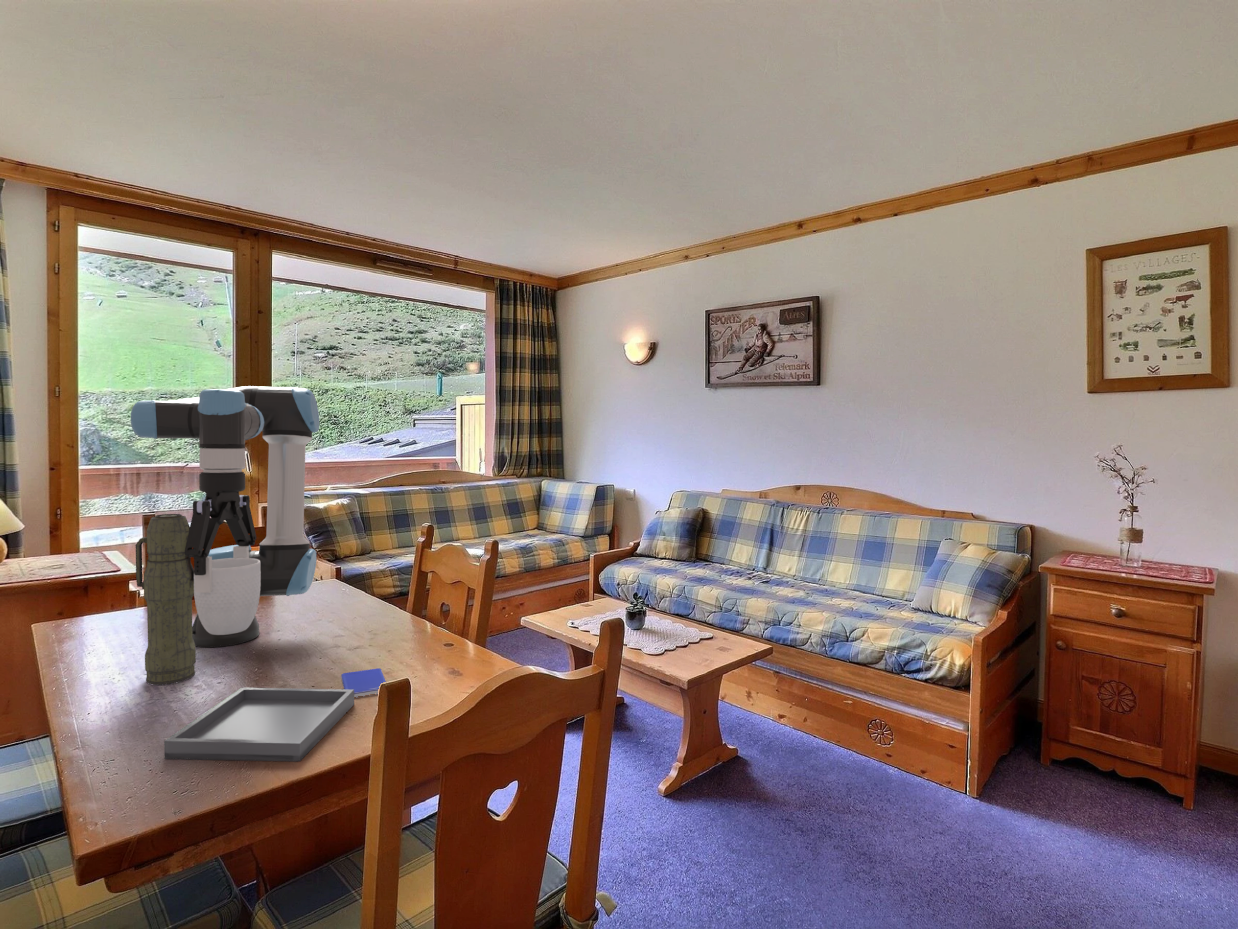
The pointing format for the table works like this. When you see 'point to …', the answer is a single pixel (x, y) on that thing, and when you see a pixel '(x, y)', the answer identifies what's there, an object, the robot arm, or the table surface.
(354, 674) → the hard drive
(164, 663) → the thermos
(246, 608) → the mug
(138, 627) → the table surface
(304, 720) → the tray
